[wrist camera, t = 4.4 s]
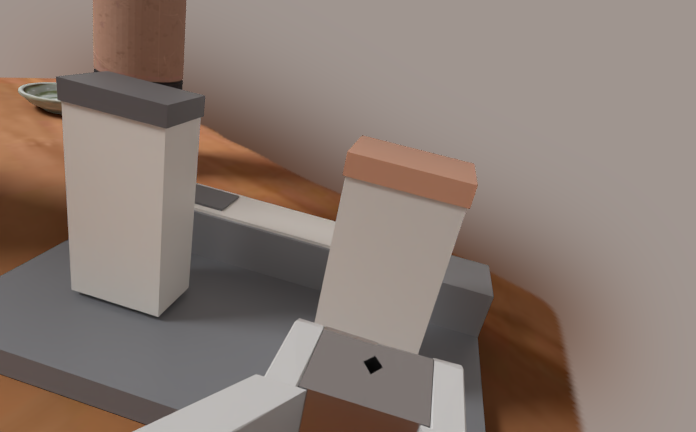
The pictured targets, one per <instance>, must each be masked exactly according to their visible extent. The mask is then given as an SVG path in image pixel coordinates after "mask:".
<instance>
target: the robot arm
mask: <svg viewBox="0 0 696 432" xmlns="http://www.w3.org/2000/svg"><path fill="white" fill-rule="evenodd" d="M133 432H467V431H466V408H465V385H464V369H463V367H462V366H461V365H459V364H455V363H451V362H447V361H443V360H439V359H436V358H433V359H432V358H428V357H425V356H421V355H418V354H414V353H411V352H407V351H404V350H400V349H397V348H393V347H390V346H387V345H383V344H380V343H378V342H375V341H372V340H368V339H365V338H362V337H359V336H356V335H353V334H349V333H346V332H343V331H340V330H337V329H334V328H330V327H327V326H326V327H324V325H320V324H317V323H314V322H310V321H307V320H304V319H300V318H299V319H298V320H296V321H295V322H294V324H293V326H292V327H291V329H290V331H289V333H288V335H287V336H286V338H285V340H284V342H283V344H282V345H281V347H280V349H279V351H278V353H277V354H276V356H275V358H274V360H273V361H272V363H271V365H270V367H269V369H268V370H267V372H266V374H265V376H261V375H257V374H255V375H253V376H251V377H249V378H246V379H244V380H242V381H240V382H238V383H236V384H234V385H231V386H229V387H227V388H225V389H223V390H221V391H219V392H216V393H214V394H212V395H210V396H208V397H206V398H204V399H202V400H199V401H197V402H195V403H193V404H191V405H189V406H187V407H184V408H182V409H180V410H178V411H176V412H174V413H172V414H169V415H167V416H165V417H163V418H161V419H159V420H157V421H155V422H152V423H150V424H148V425H146V426H144V427H142V428H140V429H137V430H135V431H133Z"/></svg>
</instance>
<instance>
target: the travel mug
mask: <svg viewBox="0 0 696 432" xmlns="http://www.w3.org/2000/svg"><path fill="white" fill-rule="evenodd" d="M185 18H186V0H93V45H94V68H95V69H94V72H102V71H110V72H114V73H118V74H122V75H125V76H129V77H133V78H137V79H141V80H145V81H149V82H153V83H157V84H161V85H165V86H169V87H173V88H177V89H181V90H182V84H183V81H182V79H183V65H184V41H185Z"/></svg>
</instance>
